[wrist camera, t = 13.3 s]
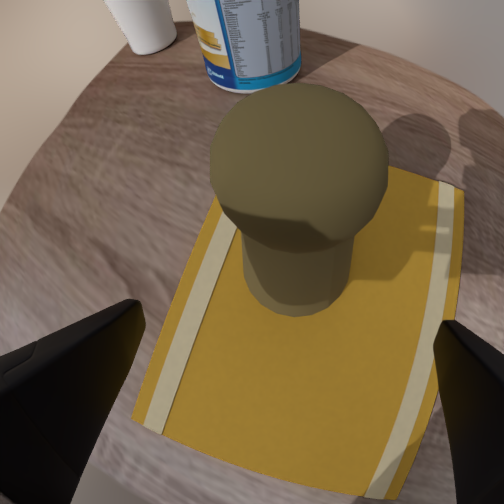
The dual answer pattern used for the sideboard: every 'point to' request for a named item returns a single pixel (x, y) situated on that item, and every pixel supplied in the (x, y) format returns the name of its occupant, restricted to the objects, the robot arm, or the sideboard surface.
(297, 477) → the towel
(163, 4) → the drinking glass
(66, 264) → the sideboard surface
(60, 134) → the sideboard surface
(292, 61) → the blue plastic jar
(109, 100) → the sideboard surface
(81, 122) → the sideboard surface
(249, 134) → the cork
